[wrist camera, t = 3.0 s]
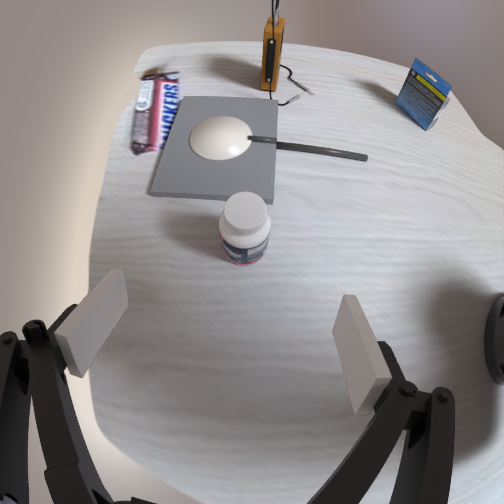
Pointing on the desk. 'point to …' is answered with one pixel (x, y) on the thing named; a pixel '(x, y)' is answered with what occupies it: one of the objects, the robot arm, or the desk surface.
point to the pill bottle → (244, 228)
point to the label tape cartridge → (423, 95)
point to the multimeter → (274, 54)
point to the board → (225, 149)
